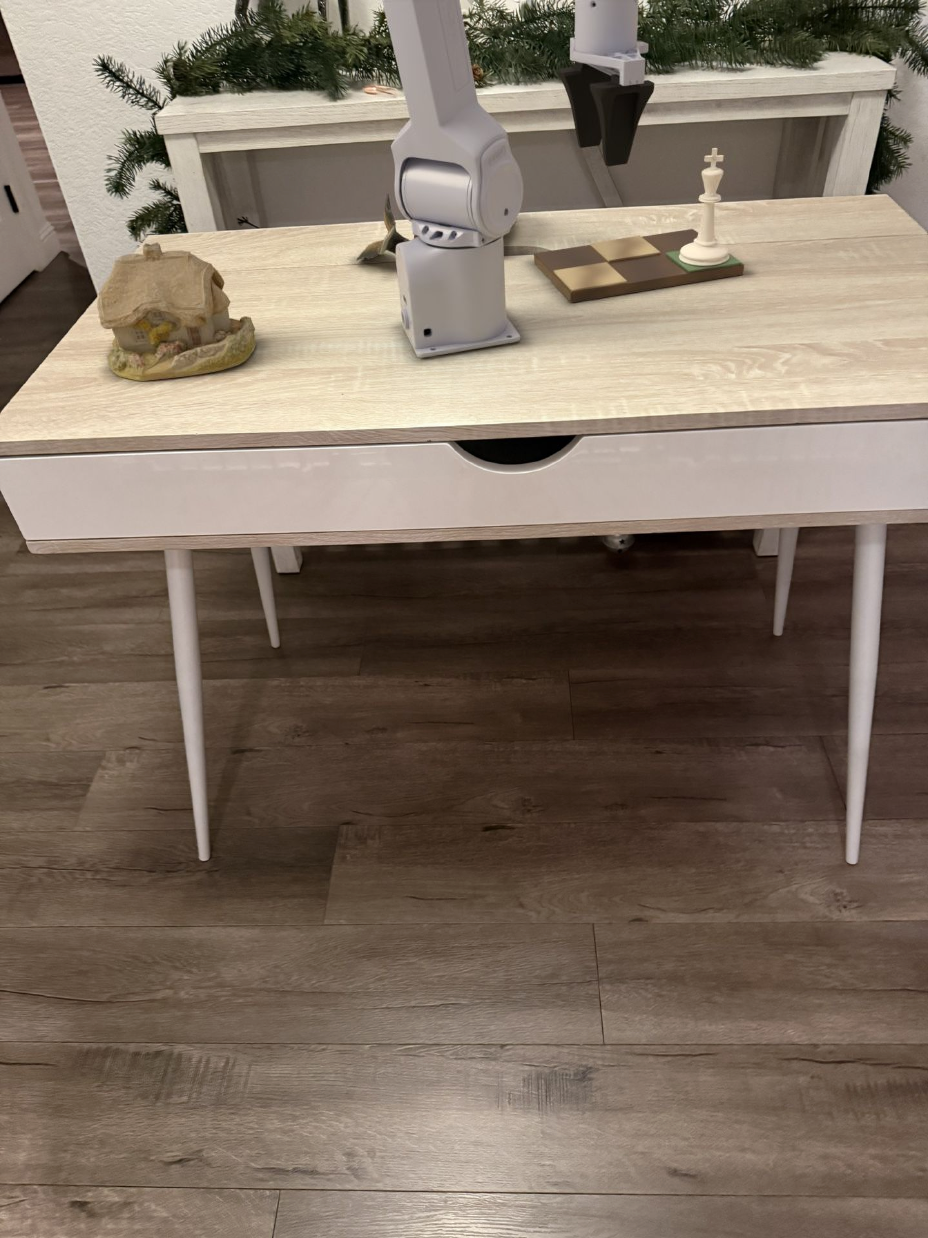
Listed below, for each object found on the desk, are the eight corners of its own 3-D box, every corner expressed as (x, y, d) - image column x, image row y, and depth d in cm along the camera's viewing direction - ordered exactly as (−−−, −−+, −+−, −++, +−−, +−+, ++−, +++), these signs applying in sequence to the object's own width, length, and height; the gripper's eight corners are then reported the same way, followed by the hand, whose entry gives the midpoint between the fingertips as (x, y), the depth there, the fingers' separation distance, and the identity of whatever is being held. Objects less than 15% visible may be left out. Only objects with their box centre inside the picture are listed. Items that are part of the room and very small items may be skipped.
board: (570, 302, 88) (570, 290, 88) (533, 262, 97) (533, 251, 97) (743, 274, 91) (744, 262, 90) (691, 237, 100) (692, 226, 99)
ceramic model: (89, 384, 82) (48, 271, 75) (128, 332, 90) (95, 227, 84) (243, 376, 81) (216, 262, 74) (268, 325, 89) (246, 218, 83)
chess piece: (677, 249, 94) (686, 142, 88) (727, 248, 93) (739, 140, 87) (679, 266, 90) (689, 156, 84) (731, 265, 90) (744, 154, 83)
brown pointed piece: (453, 248, 99) (401, 216, 103) (427, 202, 93) (373, 170, 97) (407, 302, 99) (357, 268, 103) (377, 259, 93) (325, 225, 97)
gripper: (682, -6, 78) (669, 167, 86) (619, -22, 88) (614, 133, 97) (603, 3, 77) (598, 177, 85) (549, -14, 87) (550, 142, 96)
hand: (602, 154), depth 91 cm, fingers open, 7 cm apart
